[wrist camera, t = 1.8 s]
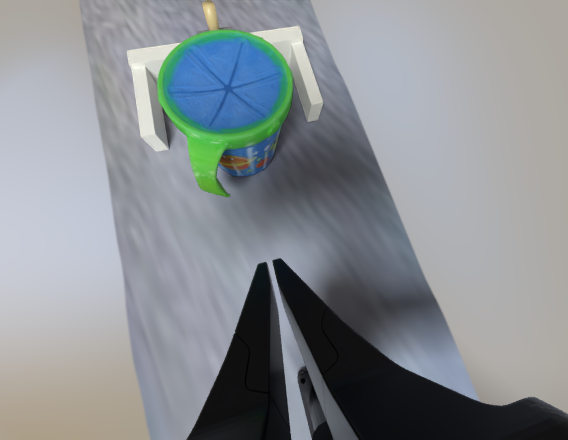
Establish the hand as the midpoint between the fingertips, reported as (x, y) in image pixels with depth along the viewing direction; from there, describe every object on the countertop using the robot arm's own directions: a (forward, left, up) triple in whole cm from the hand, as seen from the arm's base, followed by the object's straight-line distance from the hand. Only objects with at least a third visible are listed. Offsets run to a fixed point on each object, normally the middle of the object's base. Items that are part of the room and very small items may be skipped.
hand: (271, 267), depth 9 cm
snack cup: (+15, 0, -14) cm, 20 cm away
